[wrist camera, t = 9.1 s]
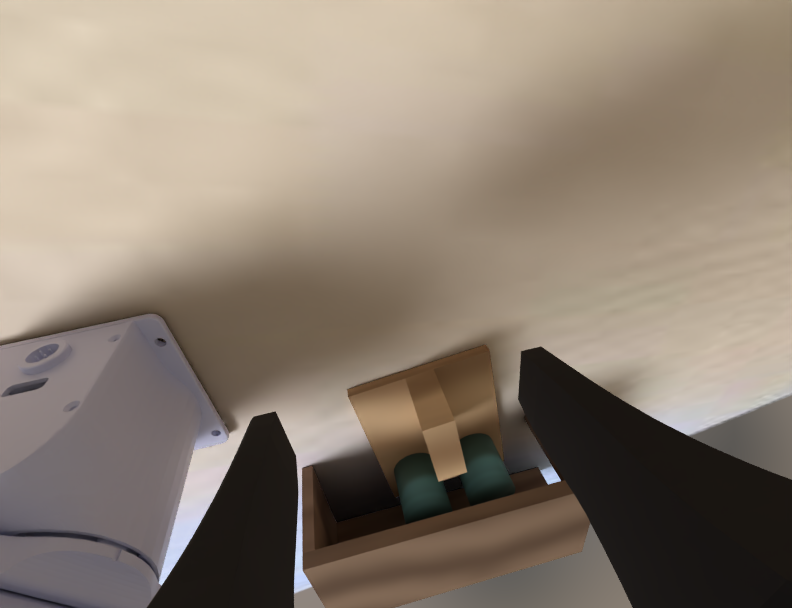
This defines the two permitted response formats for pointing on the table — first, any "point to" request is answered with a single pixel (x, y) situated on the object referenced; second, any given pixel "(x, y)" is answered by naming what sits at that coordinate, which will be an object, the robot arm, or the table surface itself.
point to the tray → (436, 432)
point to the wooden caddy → (436, 542)
